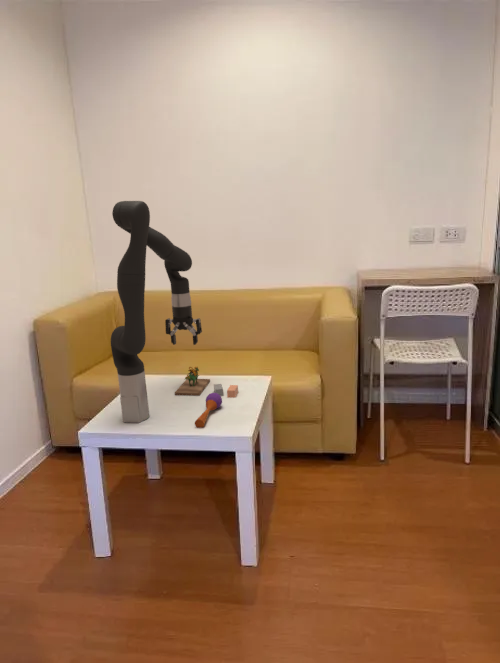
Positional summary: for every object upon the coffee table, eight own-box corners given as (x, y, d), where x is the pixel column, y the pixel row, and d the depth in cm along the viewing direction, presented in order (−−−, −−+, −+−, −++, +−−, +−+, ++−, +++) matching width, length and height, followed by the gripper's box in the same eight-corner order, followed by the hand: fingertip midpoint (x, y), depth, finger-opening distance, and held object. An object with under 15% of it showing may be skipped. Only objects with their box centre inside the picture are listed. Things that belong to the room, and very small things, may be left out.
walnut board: (199, 395, 203) (199, 392, 202) (175, 395, 205) (174, 392, 204) (210, 381, 218) (209, 378, 218) (187, 381, 220) (186, 378, 220)
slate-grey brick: (223, 396, 201) (222, 388, 201) (215, 397, 201) (215, 389, 200) (221, 390, 207) (221, 383, 206) (214, 391, 207) (213, 384, 206)
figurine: (202, 380, 216) (201, 362, 214) (189, 390, 205) (187, 371, 203) (196, 380, 217) (194, 361, 215) (182, 390, 206) (180, 370, 204)
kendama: (188, 417, 174) (206, 391, 192) (193, 432, 175) (210, 405, 194) (205, 414, 172) (221, 388, 190) (210, 430, 173) (225, 403, 192)
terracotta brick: (235, 398, 199) (234, 390, 198) (227, 397, 199) (226, 390, 199) (238, 392, 204) (237, 385, 204) (230, 392, 205) (230, 385, 204)
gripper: (160, 306, 201) (164, 346, 204) (196, 306, 198) (199, 347, 202) (167, 302, 208) (171, 341, 212) (201, 302, 205) (204, 341, 209)
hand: (184, 344), depth 207 cm, fingers open, 8 cm apart
